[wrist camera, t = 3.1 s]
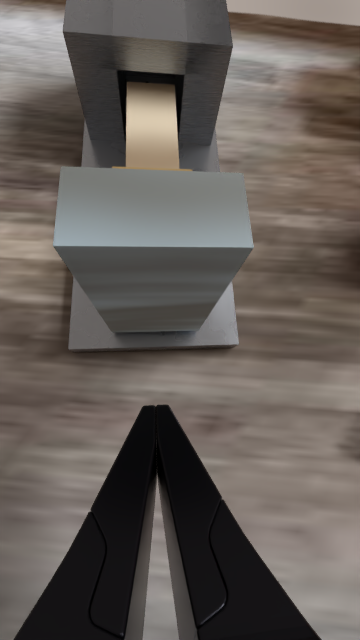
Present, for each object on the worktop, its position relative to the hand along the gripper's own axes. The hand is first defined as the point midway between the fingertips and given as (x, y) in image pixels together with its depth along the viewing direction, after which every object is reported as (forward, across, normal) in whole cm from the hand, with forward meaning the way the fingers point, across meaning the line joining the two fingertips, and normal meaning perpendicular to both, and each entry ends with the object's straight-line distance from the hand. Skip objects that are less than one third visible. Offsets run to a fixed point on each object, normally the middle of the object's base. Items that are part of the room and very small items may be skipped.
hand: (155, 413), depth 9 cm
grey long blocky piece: (+16, 0, -6) cm, 17 cm away
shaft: (+12, 0, -4) cm, 13 cm away
